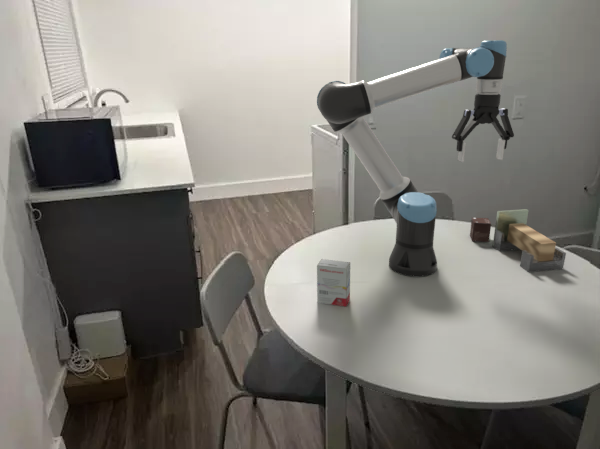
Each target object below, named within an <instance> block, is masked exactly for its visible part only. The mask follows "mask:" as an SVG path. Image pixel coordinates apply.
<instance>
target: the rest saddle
mask: <svg viewBox="0 0 600 449" xmlns="http://www.w3.org/2000/svg"><path fill="white" fill-rule="evenodd" d="M566 256H567V253H566V252H565V251H563V250H562V249H560V248H558V247H555V252H554V257H553V260H550V261H537V260H535V259H534V256H533V255H532V254H530V253H529V252H527V251H526V250H521V257H520V262H519V267H520V268H522V269H524V270H525V271H526V272H527V273H532V272H543V271H544V272H545V271H555V270H554V269H557V270H563V269H564V265H565V262H566V261H565V260H566ZM562 268H563V269H562Z"/></svg>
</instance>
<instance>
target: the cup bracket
mask: <svg viewBox="0 0 600 449" xmlns="http://www.w3.org/2000/svg"><path fill="white" fill-rule="evenodd" d="M528 215H529V209H527V208H523V209H522V208H521V209H509V210H497V212H496V219H495V226H494V234H493V241H492V247H493V248H494V249H495V250H497V251H498V252H506V251H507V252H508V251H519V250H521V249H519V248H518V247H517V246H515V245H514V244H512V243H511V242H509V241H508V240H507V238H508V231H509V224H517V223H524V224H525V225H527V224H528V223H527V222H528ZM521 251H522V250H521Z"/></svg>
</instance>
